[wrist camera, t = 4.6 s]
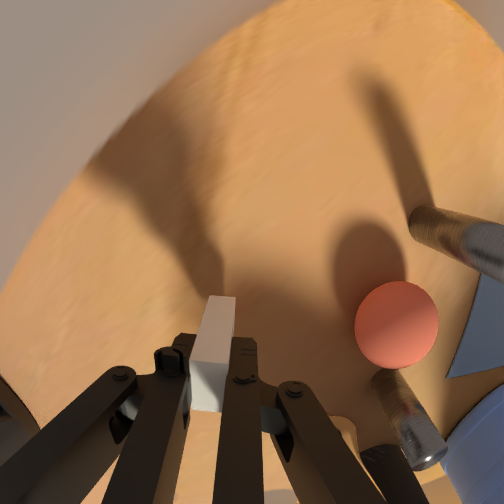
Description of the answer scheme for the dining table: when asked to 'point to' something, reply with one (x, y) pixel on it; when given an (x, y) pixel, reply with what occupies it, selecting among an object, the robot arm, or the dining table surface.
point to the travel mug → (393, 475)
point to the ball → (396, 325)
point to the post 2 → (461, 238)
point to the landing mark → (482, 332)
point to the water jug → (478, 452)
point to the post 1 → (408, 420)
